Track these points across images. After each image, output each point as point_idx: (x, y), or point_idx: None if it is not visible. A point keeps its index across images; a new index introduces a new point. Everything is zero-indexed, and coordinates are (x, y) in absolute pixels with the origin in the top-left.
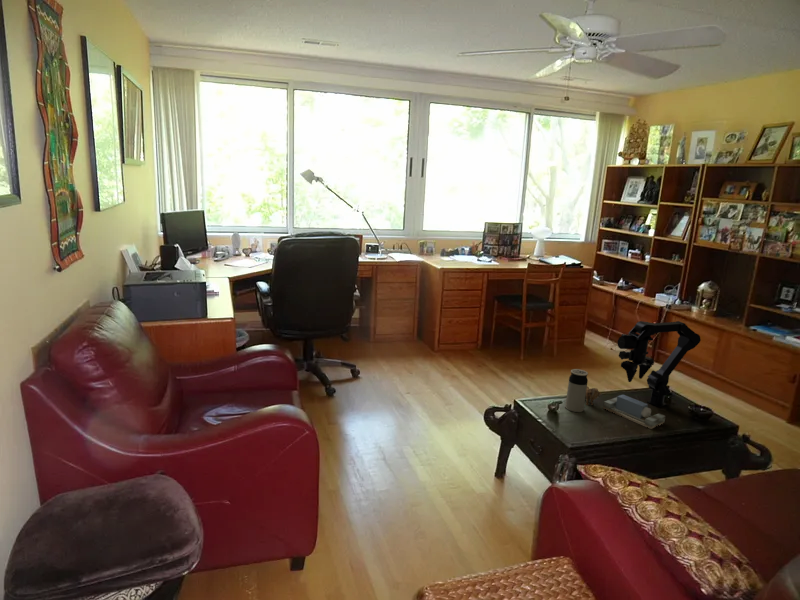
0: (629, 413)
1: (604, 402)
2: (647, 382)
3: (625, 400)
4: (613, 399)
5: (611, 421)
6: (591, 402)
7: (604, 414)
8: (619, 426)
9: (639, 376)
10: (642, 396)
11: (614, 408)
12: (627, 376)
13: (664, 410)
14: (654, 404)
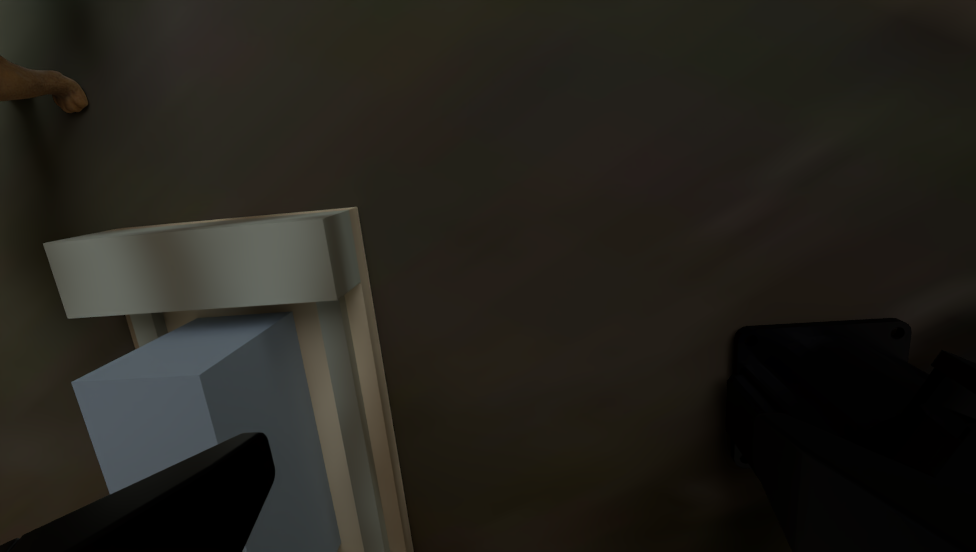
0: None
1: (55, 249)
2: (928, 430)
3: (119, 482)
4: (204, 251)
5: (21, 433)
6: (43, 92)
7: (49, 323)
8: (29, 509)
9: (782, 449)
10: (887, 189)
11: (153, 336)
12: (86, 515)
13: (700, 515)
14: (728, 419)
